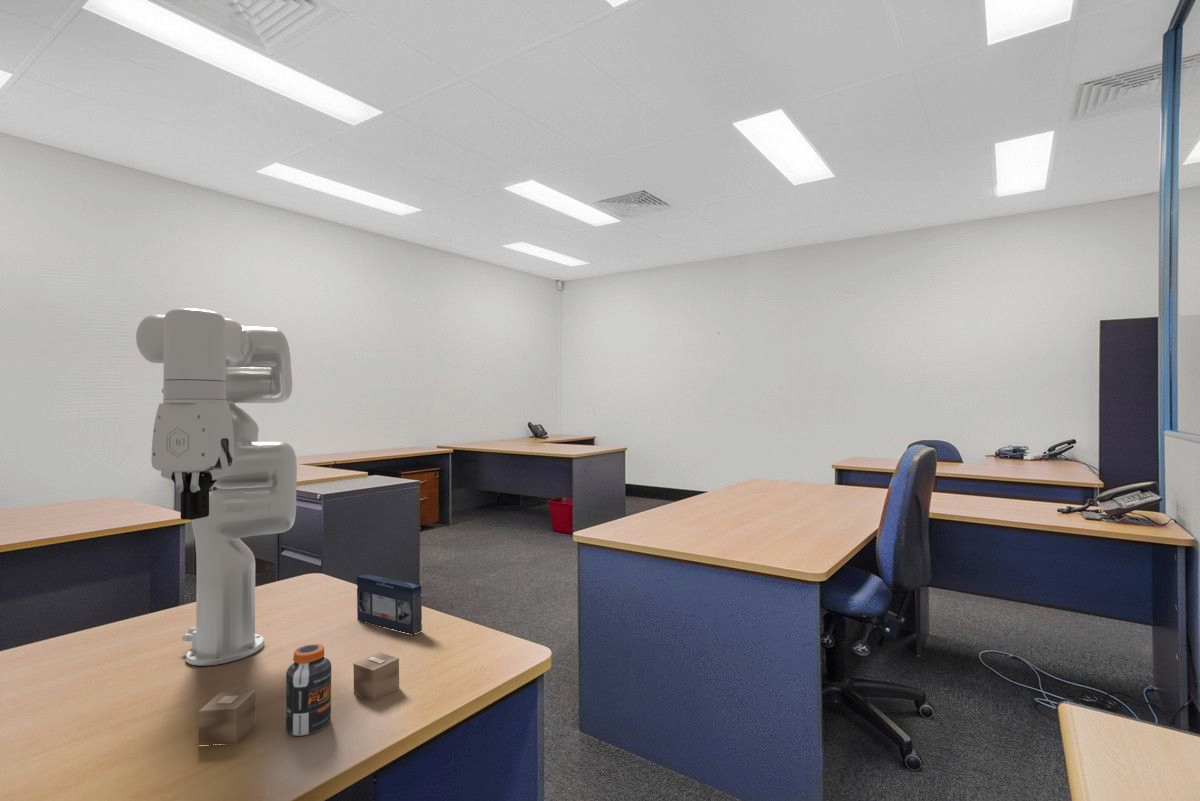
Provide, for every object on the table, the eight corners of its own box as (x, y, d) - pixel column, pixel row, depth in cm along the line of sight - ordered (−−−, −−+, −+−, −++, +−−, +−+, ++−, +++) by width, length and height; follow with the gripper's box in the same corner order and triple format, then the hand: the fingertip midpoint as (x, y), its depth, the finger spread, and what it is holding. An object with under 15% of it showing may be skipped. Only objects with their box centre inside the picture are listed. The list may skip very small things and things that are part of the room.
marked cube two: (353, 694, 90) (353, 662, 90) (379, 681, 95) (379, 651, 95) (373, 702, 88) (373, 669, 88) (399, 688, 92) (398, 657, 92)
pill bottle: (311, 739, 78) (311, 658, 78) (275, 735, 79) (275, 655, 79) (339, 716, 84) (339, 641, 84) (305, 712, 85) (305, 638, 85)
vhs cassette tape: (356, 620, 123) (356, 576, 123) (368, 616, 125) (367, 572, 126) (411, 637, 113) (410, 589, 113) (422, 632, 116) (422, 585, 116)
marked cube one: (198, 747, 76) (198, 709, 76) (219, 726, 81) (220, 691, 81) (236, 744, 77) (236, 707, 77) (255, 724, 82) (255, 689, 82)
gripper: (127, 393, 79) (126, 522, 79) (217, 392, 76) (216, 524, 76) (176, 395, 86) (175, 512, 86) (259, 393, 84) (259, 514, 83)
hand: (195, 517), depth 81 cm, fingers closed
